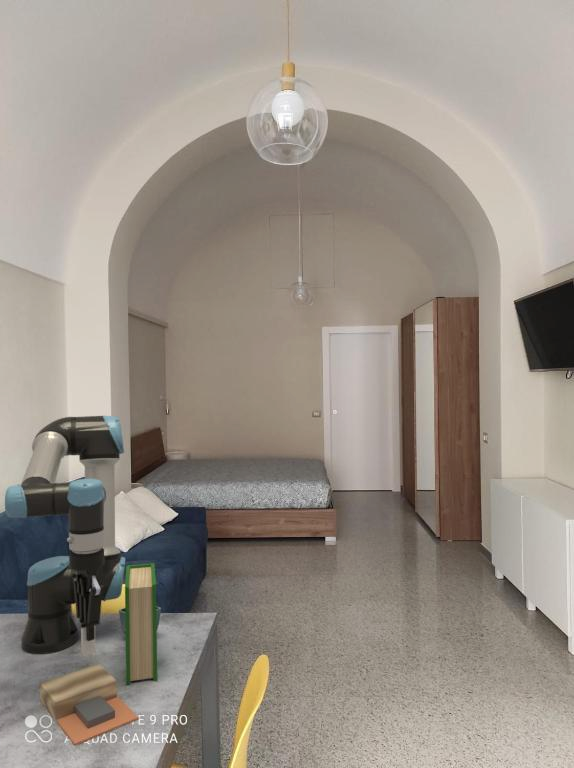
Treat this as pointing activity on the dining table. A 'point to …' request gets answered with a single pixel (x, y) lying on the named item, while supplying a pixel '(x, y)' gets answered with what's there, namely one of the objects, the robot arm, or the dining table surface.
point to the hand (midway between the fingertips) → (88, 652)
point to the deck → (76, 690)
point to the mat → (81, 733)
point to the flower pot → (122, 618)
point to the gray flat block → (94, 711)
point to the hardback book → (140, 622)
